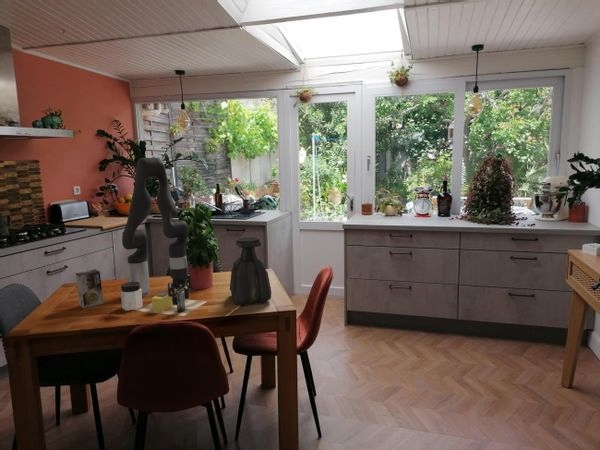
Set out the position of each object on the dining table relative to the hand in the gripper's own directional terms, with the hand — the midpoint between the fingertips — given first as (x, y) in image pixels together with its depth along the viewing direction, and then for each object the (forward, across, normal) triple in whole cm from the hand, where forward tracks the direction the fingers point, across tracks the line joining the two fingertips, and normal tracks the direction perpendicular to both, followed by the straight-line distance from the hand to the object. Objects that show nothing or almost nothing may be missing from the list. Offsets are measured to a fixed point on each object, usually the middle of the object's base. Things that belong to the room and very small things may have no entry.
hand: (181, 301), depth 191 cm
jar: (+5, -2, +25) cm, 26 cm away
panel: (+5, +4, +8) cm, 10 cm away
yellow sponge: (+4, 0, +10) cm, 11 cm away
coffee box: (+5, -2, +49) cm, 49 cm away
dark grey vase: (+5, +23, -23) cm, 33 cm away
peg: (+4, 0, 0) cm, 4 cm away
